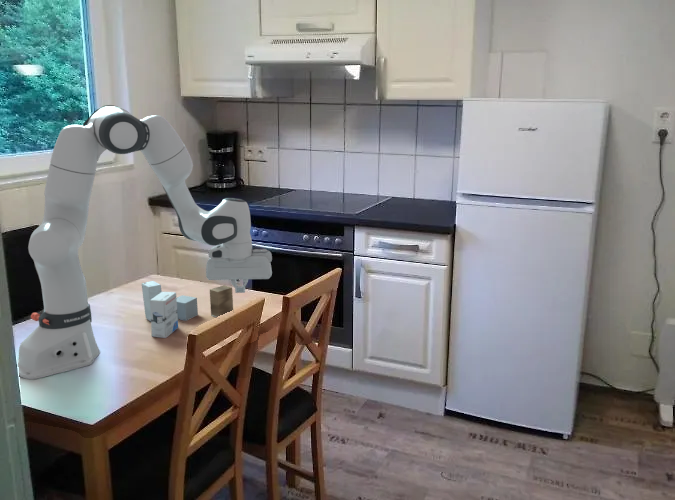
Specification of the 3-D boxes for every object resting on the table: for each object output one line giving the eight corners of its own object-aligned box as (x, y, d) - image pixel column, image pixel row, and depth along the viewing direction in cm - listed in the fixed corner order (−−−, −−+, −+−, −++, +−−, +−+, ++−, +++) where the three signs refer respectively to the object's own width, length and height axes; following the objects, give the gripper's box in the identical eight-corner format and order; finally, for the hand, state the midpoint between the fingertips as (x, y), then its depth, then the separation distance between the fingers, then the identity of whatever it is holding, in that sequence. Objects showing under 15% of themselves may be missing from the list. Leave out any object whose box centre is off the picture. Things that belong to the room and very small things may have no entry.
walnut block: (218, 318, 203) (217, 292, 201) (211, 315, 206) (209, 289, 203) (233, 313, 207) (232, 287, 205) (225, 310, 210) (224, 285, 208)
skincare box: (165, 320, 201) (162, 284, 198) (152, 323, 199) (148, 287, 196) (157, 315, 206) (154, 279, 203) (144, 318, 203) (141, 282, 200)
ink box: (164, 326, 196) (161, 290, 193) (179, 327, 195) (177, 291, 192) (151, 337, 188) (148, 299, 185) (167, 338, 187) (164, 300, 184)
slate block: (186, 321, 201) (184, 303, 200) (171, 318, 204) (170, 300, 202) (197, 315, 206) (196, 297, 205) (183, 312, 209) (182, 295, 207)
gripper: (272, 246, 198) (274, 288, 201) (207, 247, 198) (210, 289, 201) (270, 251, 192) (272, 294, 195) (203, 253, 192) (206, 296, 195)
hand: (240, 292), depth 198 cm, fingers closed
